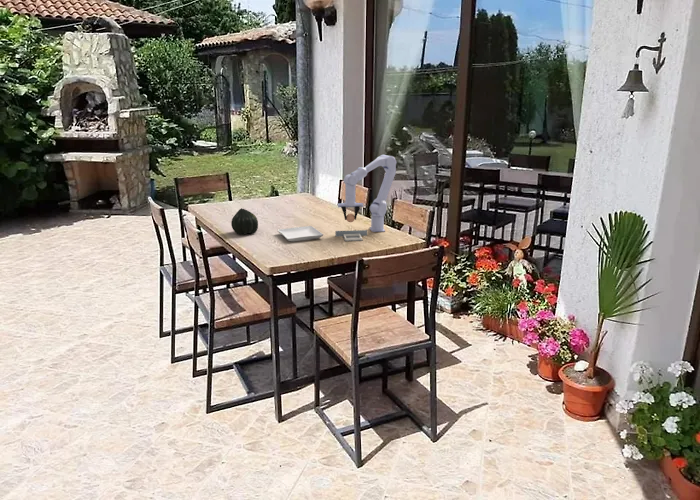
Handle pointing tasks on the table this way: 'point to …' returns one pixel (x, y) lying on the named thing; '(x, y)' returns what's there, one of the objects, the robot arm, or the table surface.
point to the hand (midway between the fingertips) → (350, 219)
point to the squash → (244, 222)
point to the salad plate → (300, 233)
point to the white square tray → (352, 237)
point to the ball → (350, 217)
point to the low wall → (351, 232)
